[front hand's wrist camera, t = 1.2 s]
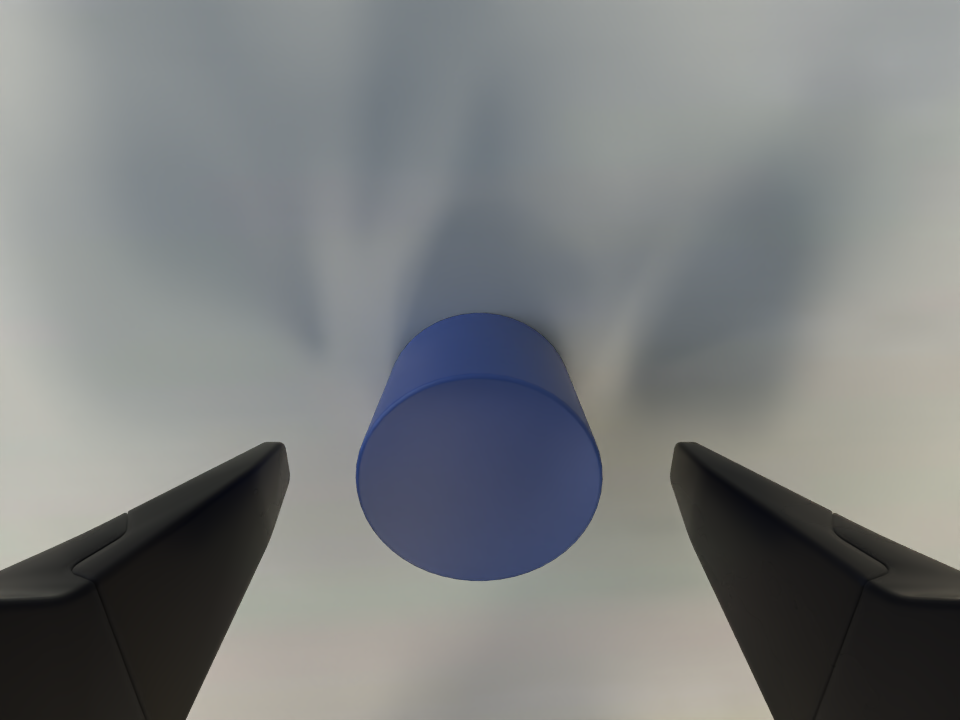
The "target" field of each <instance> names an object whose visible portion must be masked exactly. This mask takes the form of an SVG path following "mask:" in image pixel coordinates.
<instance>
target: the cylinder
mask: <svg viewBox="0 0 960 720" xmlns="http://www.w3.org/2000/svg"><path fill="white" fill-rule="evenodd" d="M602 480H603V477H602V463H601V458H600V453H599V450H598V447H597V445H596V442H595V439H594V437H593V434H592V432H591V429H590V427H589V424H588V422H587V419H586V417H585V414H584V412H583V409H582V407H581V404H580V402H579V400H578V397H577V395H576V392H575V390H574V387H573V385H572V382H571V380H570V377H569V375H568V372H567V370H566V367H565V365H564V363H563V361H562V359H561V357H560V356H559V354H558V352H557V351H556V350H555V348H554V347H553V346H552V345H551V344H550V343H549V342H548V341H547V340H546V339H545V338H544V337H543V336H542V335H541V334H540V333H538V332H537V331H536V330H534V329H533V328H531V327H529V326H527V325H526V324H524V323H522V322H519V321H517V320H515V319H512V318H509V317H505V316H501V315H496V314H488V313H471V314H463V315H458V316H454V317H450V318H447V319H444V320H442V321H439V322H437V323H435V324H433V325H431V326H429V327H428V328H426V329H425V330H423V331H422V332H420V333H419V334H418V335H416V336H415V337H414V338H413V339H412V340H411V341H410V342H409V343H408V344H407V346H406V347H405V348H404V349H403V351H402V352H401V353H400V355H399V357H398V359H397V360H396V362H395V364H394V367H393V369H392V372H391V374H390V377H389V379H388V381H387V384H386V386H385V389H384V391H383V394H382V396H381V399H380V401H379V403H378V406H377V408H376V411H375V413H374V416H373V418H372V421H371V423H370V426H369V428H368V430H367V433H366V435H365V438H364V440H363V443H362V445H361V448H360V451H359V455H358V460H357V464H356V486H357V493H358V497H359V501H360V505H361V507H362V510H363V512H364V514H365V517H366V519H367V521H368V522H369V524H370V526H371V527H372V529H373V531H374V532H375V533H376V534H377V535H378V537H379V538H380V539H381V540H382V541H383V542H384V543H385V544H386V545H387V546H388V547H389V548H390V549H391V550H392V551H393V552H395V553H396V554H397V555H399V556H400V557H401V558H403V559H404V560H406V561H408V562H409V563H411V564H413V565H415V566H417V567H419V568H421V569H423V570H426V571H428V572H431V573H434V574H437V575H440V576H444V577H448V578H453V579H459V580H469V581H489V580H500V579H505V578H510V577H515V576H518V575H522V574H525V573H528V572H530V571H533V570H535V569H537V568H540V567H542V566H544V565H546V564H547V563H549V562H551V561H553V560H554V559H556V558H557V557H558V556H560V555H561V554H563V553H564V552H565V551H566V550H568V549H569V548H570V547H571V546H572V545H573V544H574V543H575V542H576V541H577V540H578V538H579V537H580V536H581V535H582V534H583V532H584V531H585V530H586V528H587V526H588V525H589V523H590V522H591V520H592V518H593V515H594V513H595V511H596V509H597V506H598V502H599V499H600V495H601V489H602Z"/></svg>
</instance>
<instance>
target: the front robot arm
mask: <svg viewBox="0 0 960 720" xmlns="http://www.w3.org/2000/svg"><path fill="white" fill-rule="evenodd" d="M289 480H290V472H289V466H288V460H287V454H286V448H285V446H284V444H283V443H282V442H265V443H262V444H260V445H258V446H256V447H254V448H252V449H250V450H248V451H246V452H244V453H242V454H240V455H239V456H237V457H235V458H233V459H231V460H229V461H227V462H225V463H223V464H221V465H219V466H217V467H215V468H213V469H211V470H209V471H207V472H205V473H203V474H201V475H199V476H197V477H195V478H193V479H191V480H189V481H187V482H185V483H183V484H181V485H179V486H177V487H175V488H173V489H171V490H169V491H167V492H165V493H163V494H161V495H159V496H157V497H155V498H153V499H151V500H150V501H148V502H146V503H144V504H142V505H140V506H138V507H136V508H134V509H132V510H130V511H128V514H127V513H124V514H122V515H120V516H118V517H116V518H114V519H112V520H110V521H108V522H106V523H104V524H102V525H100V526H98V527H96V528H93V529H91V530H89V531H87V532H85V533H83V534H81V535H79V536H77V537H75V538H72V539H70V540H68V541H66V542H64V543H61V544H59V545H57V546H55V547H53V548H50V549H48V550H46V551H44V552H41V553H39V554H37V555H35V556H32V557H30V558H28V559H26V560H23V561H21V562H19V563H17V564H14V565H12V566H10V567H8V568H5V569H3V570H1V571H0V720H186V718H187V716H188V714H189V712H190V709H191V707H192V705H193V703H194V701H195V699H196V697H197V695H198V692H199V690H200V688H201V686H202V684H203V682H204V680H205V677H206V675H207V673H208V671H209V669H210V667H211V665H212V663H213V660H214V658H215V656H216V654H217V652H218V650H219V648H220V645H221V643H222V641H223V639H224V637H225V635H226V633H227V631H228V628H229V626H230V624H231V622H232V620H233V618H234V616H235V614H236V611H237V609H238V607H239V605H240V603H241V601H242V599H243V596H244V594H245V592H246V590H247V588H248V586H249V584H250V582H251V579H252V577H253V575H254V573H255V571H256V569H257V567H258V564H259V562H260V560H261V558H262V556H263V554H264V552H265V550H266V547H267V545H268V543H269V540H270V538H271V535H272V532H273V530H274V527H275V524H276V521H277V517H278V514H279V511H280V508H281V505H282V502H283V499H284V496H285V493H286V490H287V487H288V484H289ZM670 480H671V484H672V487H673V490H674V493H675V496H676V499H677V502H678V505H679V508H680V511H681V514H682V517H683V521H684V524H685V527H686V530H687V532H688V535H689V538H690V540H691V543H692V545H693V547H694V550H695V552H696V554H697V556H698V558H699V560H700V562H701V564H702V567H703V569H704V571H705V573H706V575H707V577H708V579H709V582H710V584H711V586H712V588H713V590H714V592H715V594H716V596H717V599H718V601H719V603H720V605H721V607H722V609H723V611H724V614H725V616H726V618H727V620H728V622H729V624H730V626H731V628H732V631H733V633H734V635H735V637H736V639H737V641H738V643H739V646H740V648H741V650H742V652H743V654H744V656H745V658H746V660H747V663H748V665H749V667H750V669H751V671H752V673H753V675H754V678H755V680H756V682H757V684H758V686H759V688H760V690H761V692H762V695H763V697H764V699H765V701H766V703H767V705H768V707H769V710H770V712H771V714H772V716H773V718H774V720H960V571H959V570H957V569H955V568H952V567H950V566H948V565H946V564H943V563H941V562H939V561H937V560H934V559H932V558H930V557H928V556H925V555H923V554H921V553H919V552H916V551H914V550H912V549H910V548H907V547H905V546H903V545H901V544H899V543H896V542H894V541H892V540H890V539H888V538H885V537H883V536H881V535H879V534H877V533H875V532H873V531H871V530H869V529H867V528H864V527H862V526H860V525H858V524H856V523H854V522H852V521H850V520H848V519H846V518H844V517H842V516H840V515H838V514H836V513H833V514H832V511H830V510H828V509H826V508H824V507H822V506H820V505H818V504H816V503H814V502H812V501H811V500H809V499H807V498H805V497H803V496H801V495H799V494H797V493H795V492H793V491H791V490H789V489H787V488H785V487H783V486H781V485H779V484H777V483H775V482H773V481H771V480H769V479H767V478H765V477H763V476H761V475H759V474H757V473H755V472H753V471H751V470H749V469H747V468H745V467H743V466H741V465H739V464H737V463H735V462H733V461H731V460H729V459H727V458H725V457H723V456H721V455H720V454H718V453H716V452H714V451H712V450H710V449H708V448H706V447H704V446H702V445H700V444H698V443H695V442H678V443H677V444H676V446H675V448H674V454H673V460H672V466H671V472H670Z"/></svg>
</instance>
